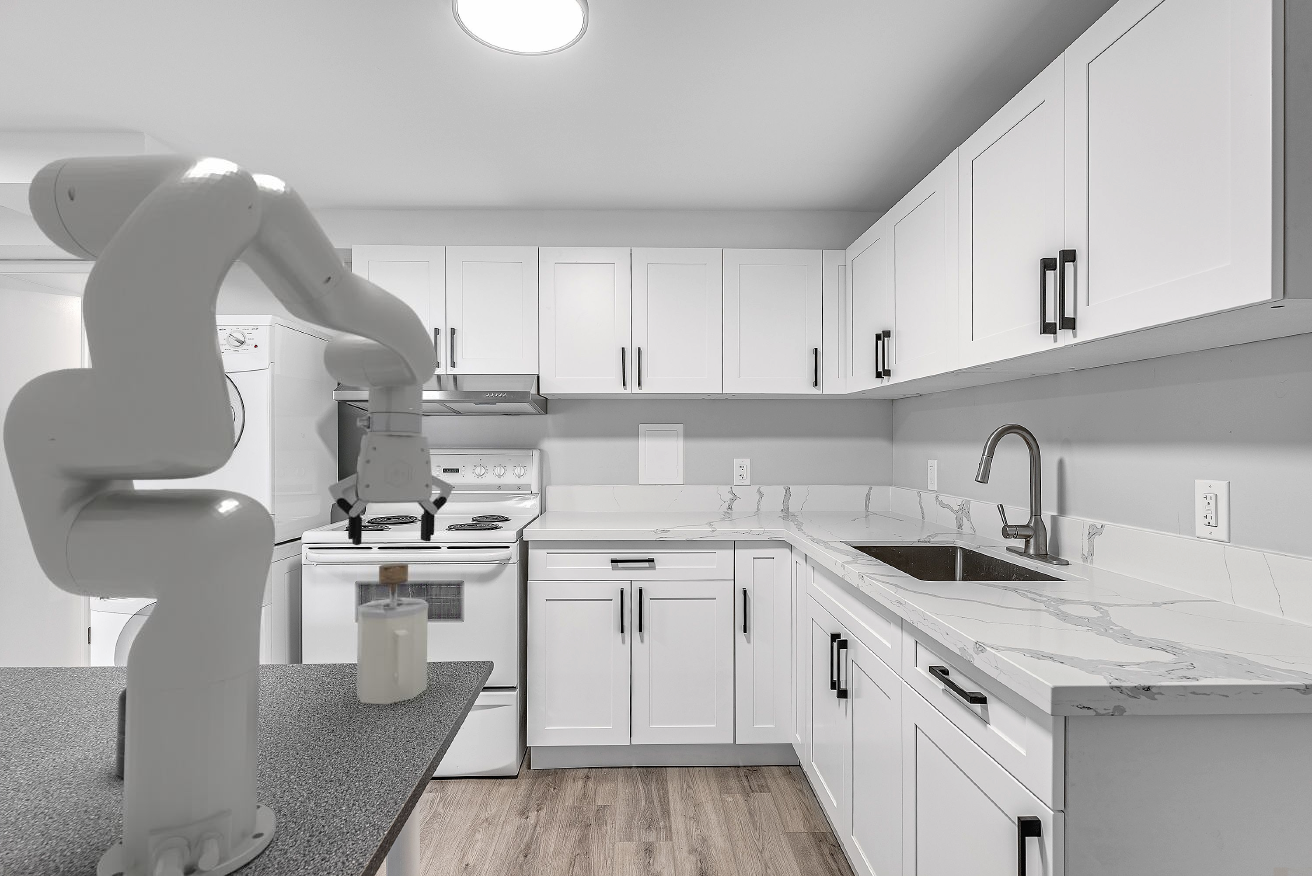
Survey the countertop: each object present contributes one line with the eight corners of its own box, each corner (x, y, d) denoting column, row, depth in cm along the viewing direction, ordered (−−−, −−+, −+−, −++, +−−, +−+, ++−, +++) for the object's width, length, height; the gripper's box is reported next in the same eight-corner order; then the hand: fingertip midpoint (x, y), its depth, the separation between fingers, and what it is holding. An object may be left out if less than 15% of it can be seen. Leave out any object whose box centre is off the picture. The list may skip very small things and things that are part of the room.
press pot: (437, 700, 91) (438, 609, 92) (367, 714, 86) (368, 618, 86) (416, 677, 101) (417, 595, 101) (352, 689, 95) (354, 603, 96)
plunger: (409, 685, 94) (411, 566, 94) (380, 690, 92) (382, 568, 92) (403, 677, 97) (404, 562, 98) (375, 682, 95) (376, 564, 95)
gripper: (334, 422, 88) (330, 548, 86) (460, 428, 97) (458, 541, 96) (327, 426, 94) (323, 543, 93) (446, 431, 103) (443, 537, 102)
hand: (392, 542), depth 94 cm, fingers open, 9 cm apart
